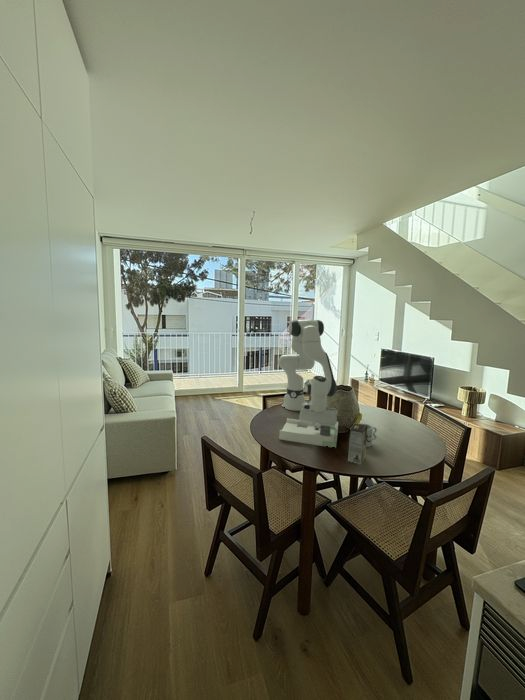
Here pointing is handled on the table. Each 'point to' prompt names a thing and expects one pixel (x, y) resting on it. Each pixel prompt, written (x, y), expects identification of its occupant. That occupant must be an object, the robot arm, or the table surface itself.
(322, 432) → the block
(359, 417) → the plant pot
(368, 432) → the mug
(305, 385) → the robot arm
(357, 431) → the coffee box
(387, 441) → the table surface
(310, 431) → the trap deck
